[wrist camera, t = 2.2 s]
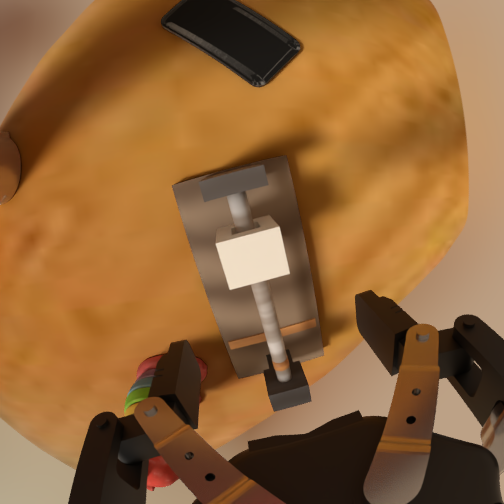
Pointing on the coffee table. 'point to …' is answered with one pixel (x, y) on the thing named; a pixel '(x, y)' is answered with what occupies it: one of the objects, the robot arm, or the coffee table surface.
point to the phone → (233, 37)
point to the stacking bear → (139, 391)
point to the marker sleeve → (252, 253)
